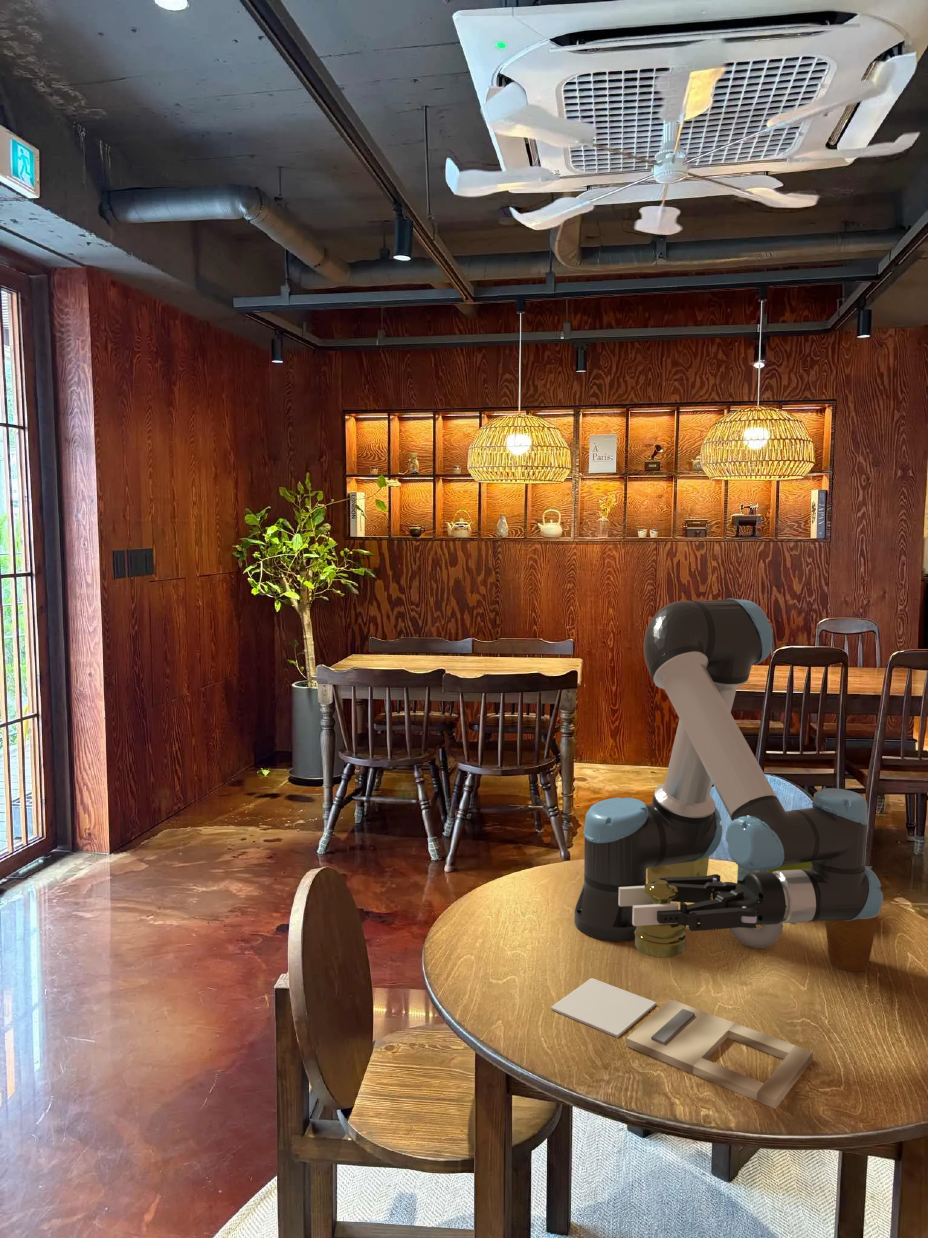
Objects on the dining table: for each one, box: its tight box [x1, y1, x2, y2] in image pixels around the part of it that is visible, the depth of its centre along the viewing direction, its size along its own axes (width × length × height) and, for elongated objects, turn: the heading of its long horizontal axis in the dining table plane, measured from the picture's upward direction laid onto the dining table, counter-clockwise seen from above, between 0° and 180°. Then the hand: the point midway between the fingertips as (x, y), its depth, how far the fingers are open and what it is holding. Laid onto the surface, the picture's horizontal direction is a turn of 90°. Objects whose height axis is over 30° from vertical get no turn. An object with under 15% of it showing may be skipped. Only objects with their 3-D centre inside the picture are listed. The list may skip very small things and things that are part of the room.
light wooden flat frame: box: [625, 998, 814, 1110], centre depth 127 cm, size 22×14×2 cm, turn 50°
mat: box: [550, 977, 657, 1038], centre depth 139 cm, size 12×12×1 cm
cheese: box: [646, 856, 710, 884], centre depth 188 cm, size 10×11×10 cm
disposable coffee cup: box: [825, 908, 882, 972], centre depth 153 cm, size 10×10×12 cm
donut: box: [728, 922, 784, 949], centre depth 159 cm, size 10×4×10 cm, turn 59°
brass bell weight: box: [634, 880, 687, 959], centre depth 129 cm, size 7×7×10 cm
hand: (626, 906), depth 128 cm, fingers closed on brass bell weight, 6 cm apart
